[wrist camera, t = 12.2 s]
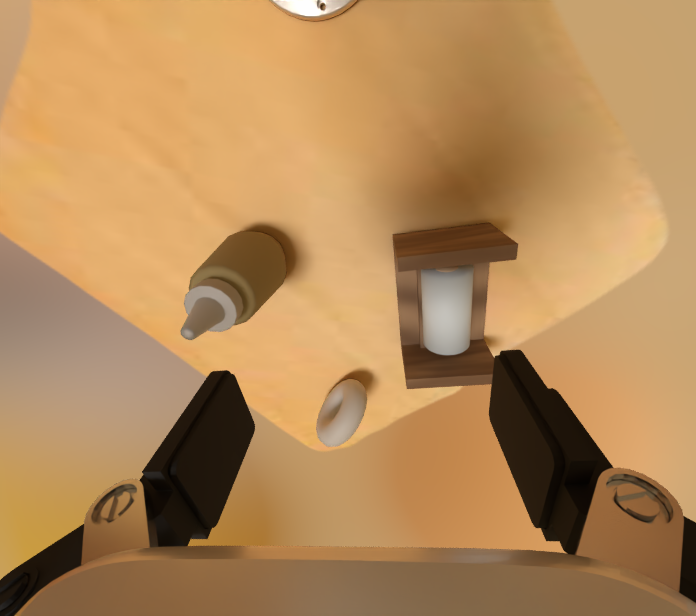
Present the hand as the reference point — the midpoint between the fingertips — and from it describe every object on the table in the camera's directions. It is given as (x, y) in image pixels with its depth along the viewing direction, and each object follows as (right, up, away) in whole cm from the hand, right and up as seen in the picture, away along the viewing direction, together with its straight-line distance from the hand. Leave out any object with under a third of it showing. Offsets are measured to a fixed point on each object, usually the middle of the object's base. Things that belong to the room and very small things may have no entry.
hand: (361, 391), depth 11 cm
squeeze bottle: (-11, +10, +28) cm, 32 cm away
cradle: (+11, +5, +29) cm, 31 cm away
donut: (-1, -9, +38) cm, 39 cm away
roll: (+11, +3, +25) cm, 28 cm away
